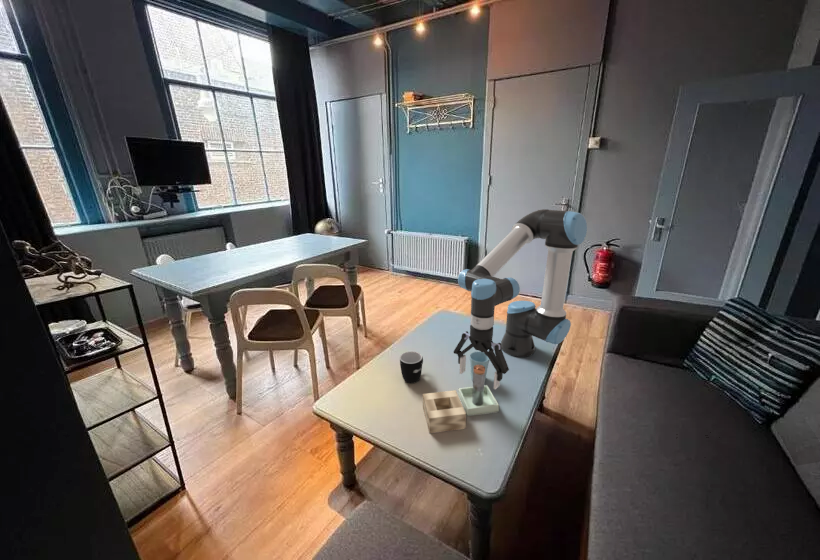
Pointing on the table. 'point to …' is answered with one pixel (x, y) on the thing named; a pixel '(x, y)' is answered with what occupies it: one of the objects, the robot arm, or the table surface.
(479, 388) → the peg
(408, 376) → the mug
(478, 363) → the cup
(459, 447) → the table surface
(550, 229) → the robot arm
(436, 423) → the eye block
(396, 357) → the table surface
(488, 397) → the tray
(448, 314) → the table surface
